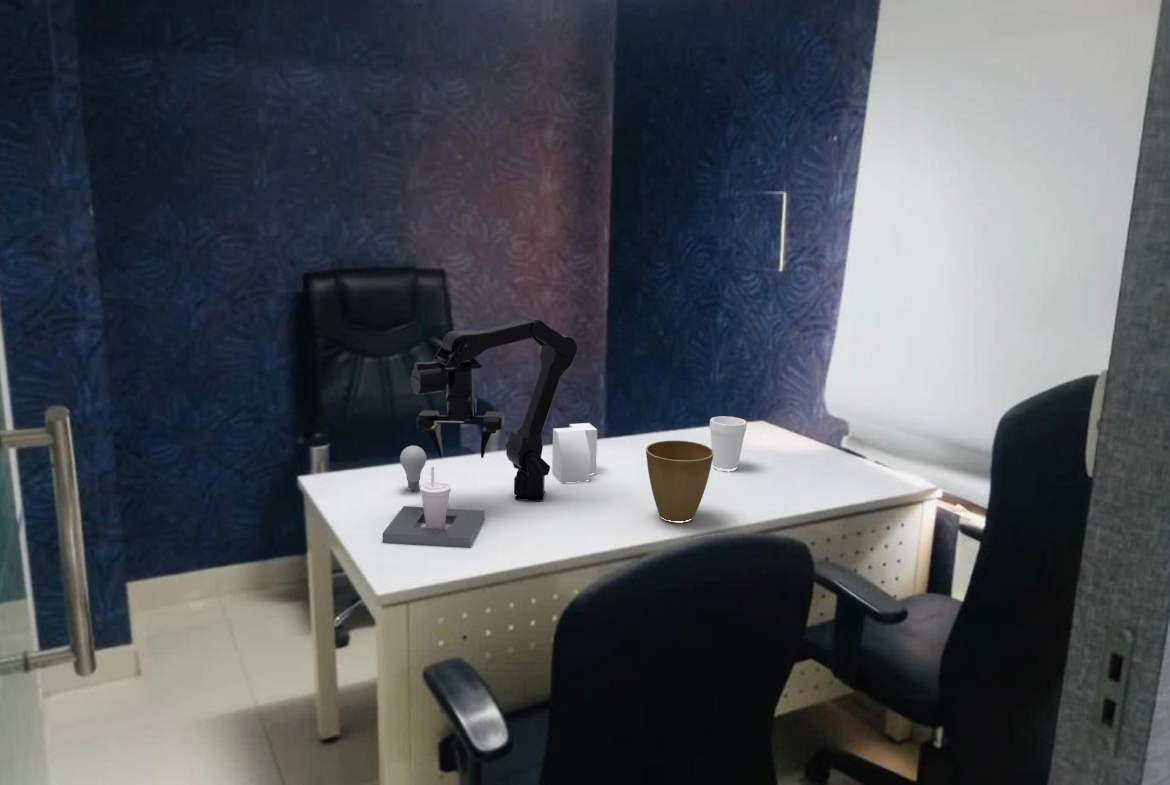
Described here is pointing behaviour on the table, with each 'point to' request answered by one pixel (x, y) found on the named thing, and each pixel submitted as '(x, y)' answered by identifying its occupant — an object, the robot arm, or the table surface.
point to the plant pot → (678, 476)
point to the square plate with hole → (458, 535)
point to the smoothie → (435, 502)
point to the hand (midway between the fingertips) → (461, 457)
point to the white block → (574, 452)
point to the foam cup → (727, 440)
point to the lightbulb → (413, 465)
